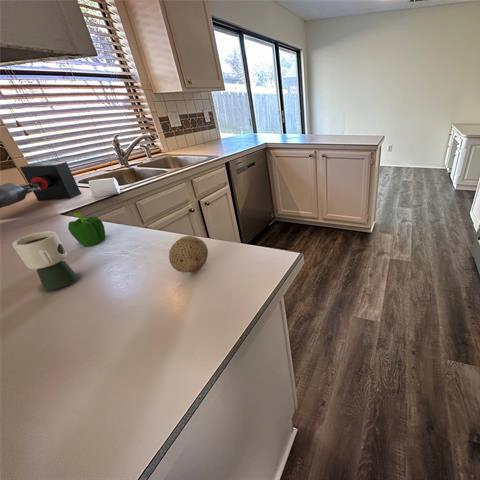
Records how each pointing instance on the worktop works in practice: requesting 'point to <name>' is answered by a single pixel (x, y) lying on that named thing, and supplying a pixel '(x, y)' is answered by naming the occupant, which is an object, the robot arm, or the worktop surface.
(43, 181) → the knob
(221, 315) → the worktop surface
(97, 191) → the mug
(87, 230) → the bell pepper
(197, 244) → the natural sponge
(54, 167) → the control box
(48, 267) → the character mug
